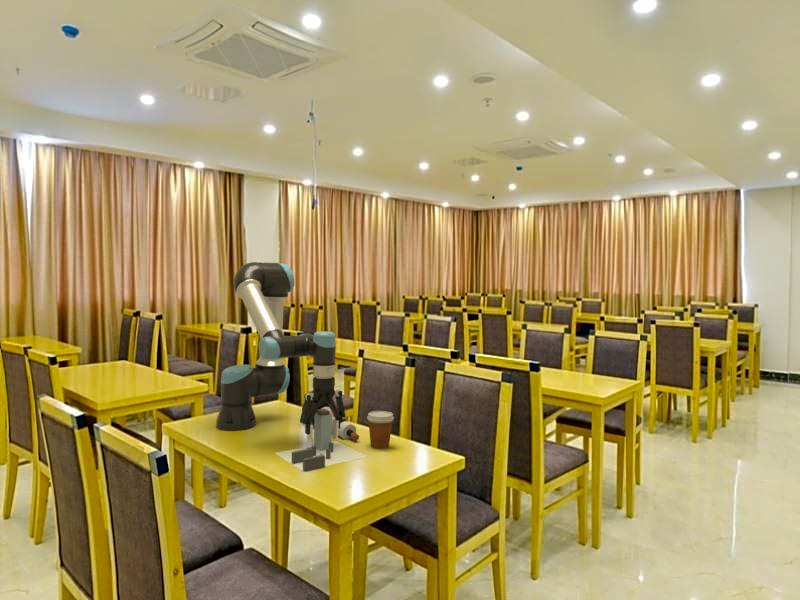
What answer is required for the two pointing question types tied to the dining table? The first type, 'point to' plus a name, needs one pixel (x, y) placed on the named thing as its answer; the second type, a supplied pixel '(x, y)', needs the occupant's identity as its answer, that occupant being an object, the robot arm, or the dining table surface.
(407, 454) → the dining table surface
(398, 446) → the dining table surface
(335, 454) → the routing panel
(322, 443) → the block
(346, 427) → the cable
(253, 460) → the dining table surface
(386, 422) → the disposable coffee cup
